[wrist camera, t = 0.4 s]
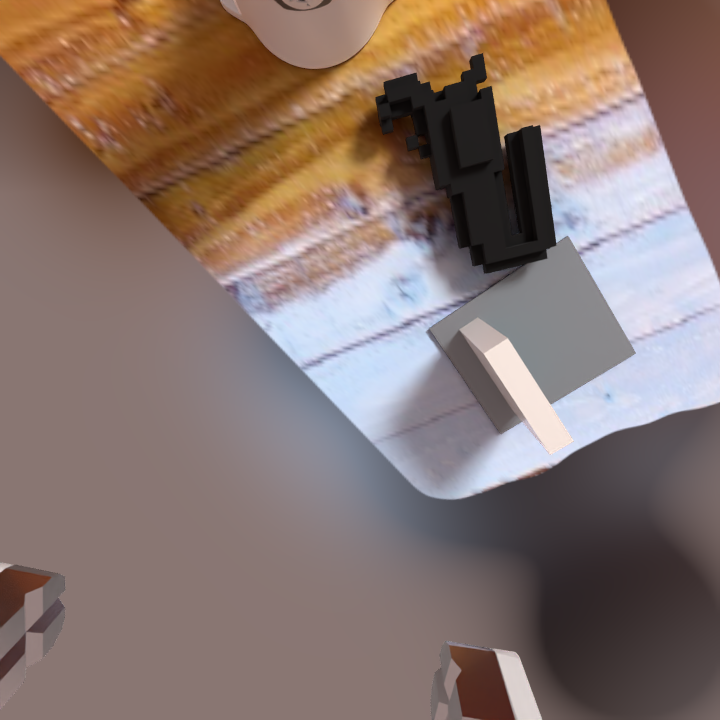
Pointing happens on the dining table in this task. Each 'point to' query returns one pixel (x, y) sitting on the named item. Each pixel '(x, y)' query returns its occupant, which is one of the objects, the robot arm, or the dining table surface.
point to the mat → (539, 330)
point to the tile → (516, 384)
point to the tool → (477, 166)
